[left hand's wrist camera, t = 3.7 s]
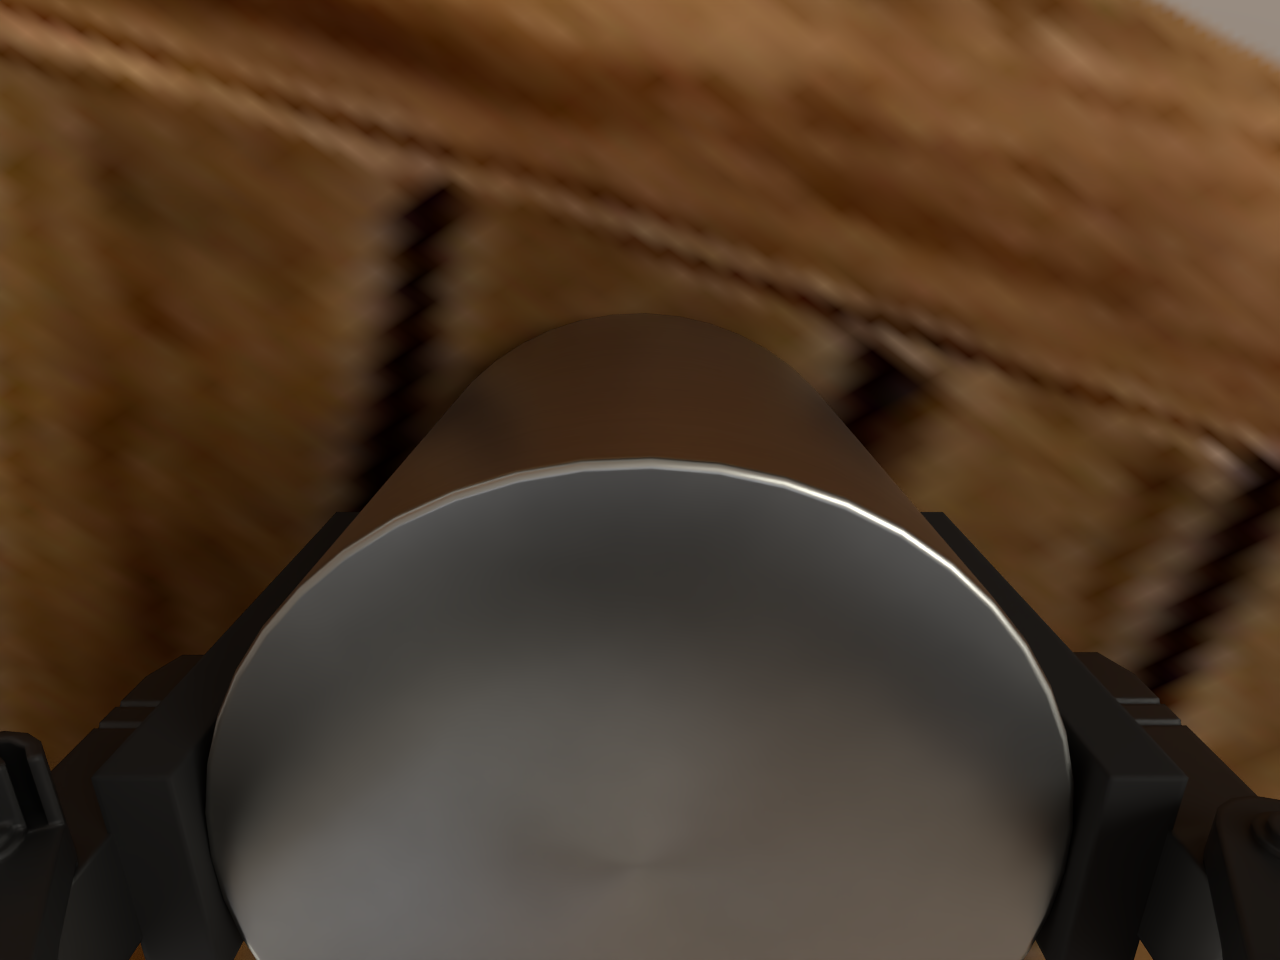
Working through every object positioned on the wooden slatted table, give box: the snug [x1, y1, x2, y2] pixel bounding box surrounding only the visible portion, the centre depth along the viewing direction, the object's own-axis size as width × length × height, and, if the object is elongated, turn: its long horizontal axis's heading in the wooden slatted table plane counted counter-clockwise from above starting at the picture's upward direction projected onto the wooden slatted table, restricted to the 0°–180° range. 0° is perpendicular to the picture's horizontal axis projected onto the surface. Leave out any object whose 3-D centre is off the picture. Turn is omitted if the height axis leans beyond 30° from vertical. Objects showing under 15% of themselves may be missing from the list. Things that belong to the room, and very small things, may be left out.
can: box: [205, 313, 1074, 960], centre depth 12 cm, size 9×9×8 cm
